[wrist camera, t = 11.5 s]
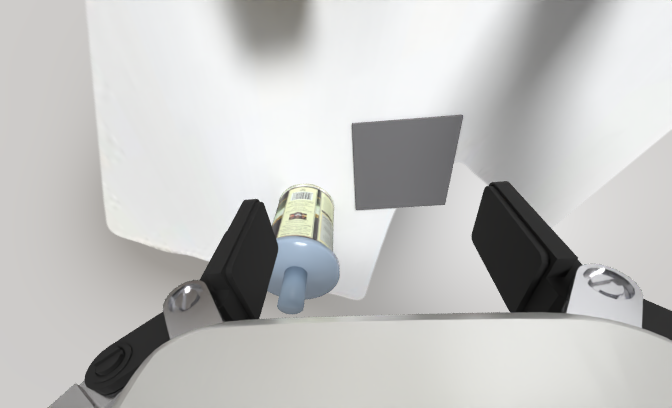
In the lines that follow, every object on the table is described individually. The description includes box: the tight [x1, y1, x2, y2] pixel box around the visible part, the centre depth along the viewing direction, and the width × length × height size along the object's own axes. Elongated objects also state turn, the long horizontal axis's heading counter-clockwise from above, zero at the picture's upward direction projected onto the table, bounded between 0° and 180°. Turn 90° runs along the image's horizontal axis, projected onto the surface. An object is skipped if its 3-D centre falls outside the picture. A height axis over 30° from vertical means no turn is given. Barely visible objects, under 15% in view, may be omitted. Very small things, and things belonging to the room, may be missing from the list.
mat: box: [352, 115, 463, 210], centre depth 43 cm, size 16×16×1 cm
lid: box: [267, 236, 339, 314], centre depth 34 cm, size 12×12×6 cm
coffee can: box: [272, 184, 334, 252], centre depth 43 cm, size 10×10×14 cm
